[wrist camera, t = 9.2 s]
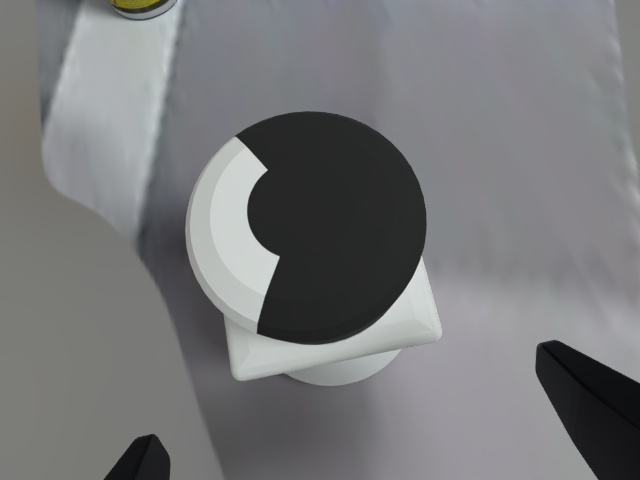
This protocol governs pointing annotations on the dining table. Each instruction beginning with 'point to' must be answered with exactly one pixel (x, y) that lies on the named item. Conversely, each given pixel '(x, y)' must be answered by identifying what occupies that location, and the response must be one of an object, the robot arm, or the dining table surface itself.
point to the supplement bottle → (141, 7)
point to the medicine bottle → (311, 245)
